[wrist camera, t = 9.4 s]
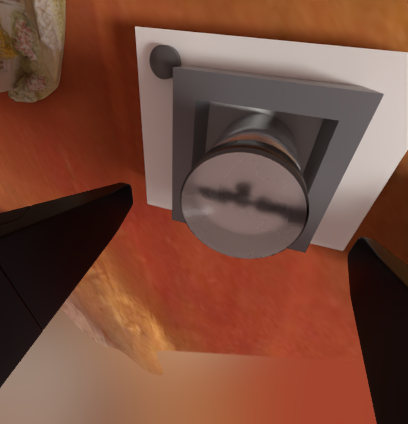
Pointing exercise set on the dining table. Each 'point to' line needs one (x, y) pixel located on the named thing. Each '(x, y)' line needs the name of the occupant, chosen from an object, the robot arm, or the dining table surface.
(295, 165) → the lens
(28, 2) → the ceramic model
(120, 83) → the dining table surface
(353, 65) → the tray on white base
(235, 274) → the dining table surface
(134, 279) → the dining table surface
